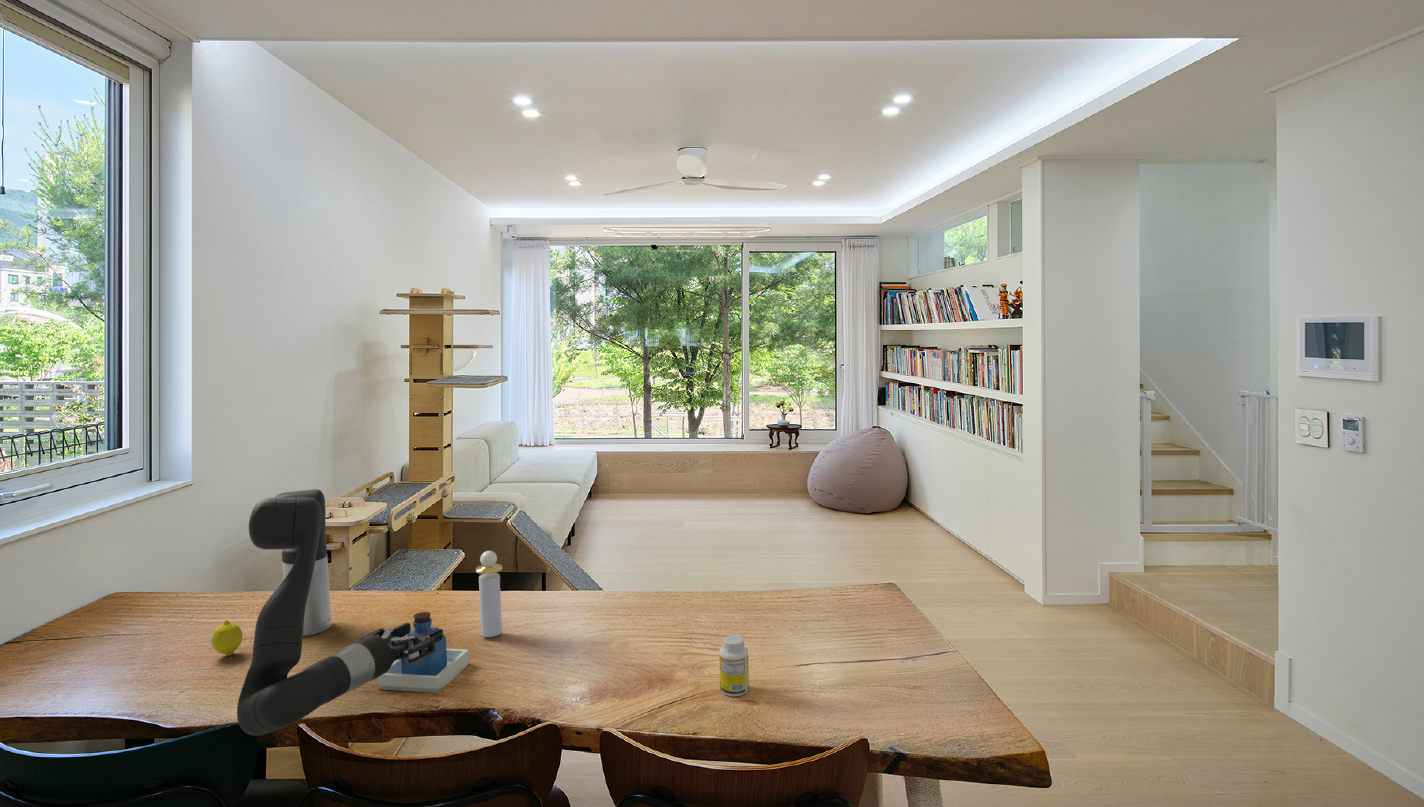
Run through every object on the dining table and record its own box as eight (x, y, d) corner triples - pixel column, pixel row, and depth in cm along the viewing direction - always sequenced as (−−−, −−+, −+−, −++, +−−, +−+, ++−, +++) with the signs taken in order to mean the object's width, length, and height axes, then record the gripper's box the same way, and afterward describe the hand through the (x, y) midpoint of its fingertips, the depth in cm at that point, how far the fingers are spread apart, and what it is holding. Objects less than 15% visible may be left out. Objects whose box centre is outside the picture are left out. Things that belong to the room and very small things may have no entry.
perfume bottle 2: (492, 643, 160) (489, 556, 158) (473, 638, 162) (469, 553, 160) (510, 633, 165) (506, 549, 163) (490, 629, 168) (487, 546, 166)
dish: (378, 689, 139) (377, 674, 139) (413, 660, 152) (412, 646, 151) (438, 692, 138) (437, 678, 137) (469, 663, 150) (468, 649, 150)
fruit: (206, 659, 153) (204, 623, 153) (232, 648, 159) (229, 613, 158) (225, 663, 152) (222, 626, 151) (249, 652, 157) (247, 616, 156)
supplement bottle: (731, 680, 141) (731, 631, 140) (754, 689, 138) (754, 638, 137) (713, 691, 137) (713, 640, 136) (736, 701, 133) (736, 648, 132)
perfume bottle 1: (447, 666, 147) (444, 609, 146) (430, 680, 141) (427, 621, 140) (419, 664, 148) (416, 608, 147) (402, 678, 142) (399, 620, 141)
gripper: (386, 650, 126) (452, 617, 141) (328, 638, 132) (397, 607, 147) (388, 691, 127) (453, 653, 142) (331, 677, 132) (399, 642, 147)
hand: (425, 630), depth 144 cm, fingers open, 8 cm apart
